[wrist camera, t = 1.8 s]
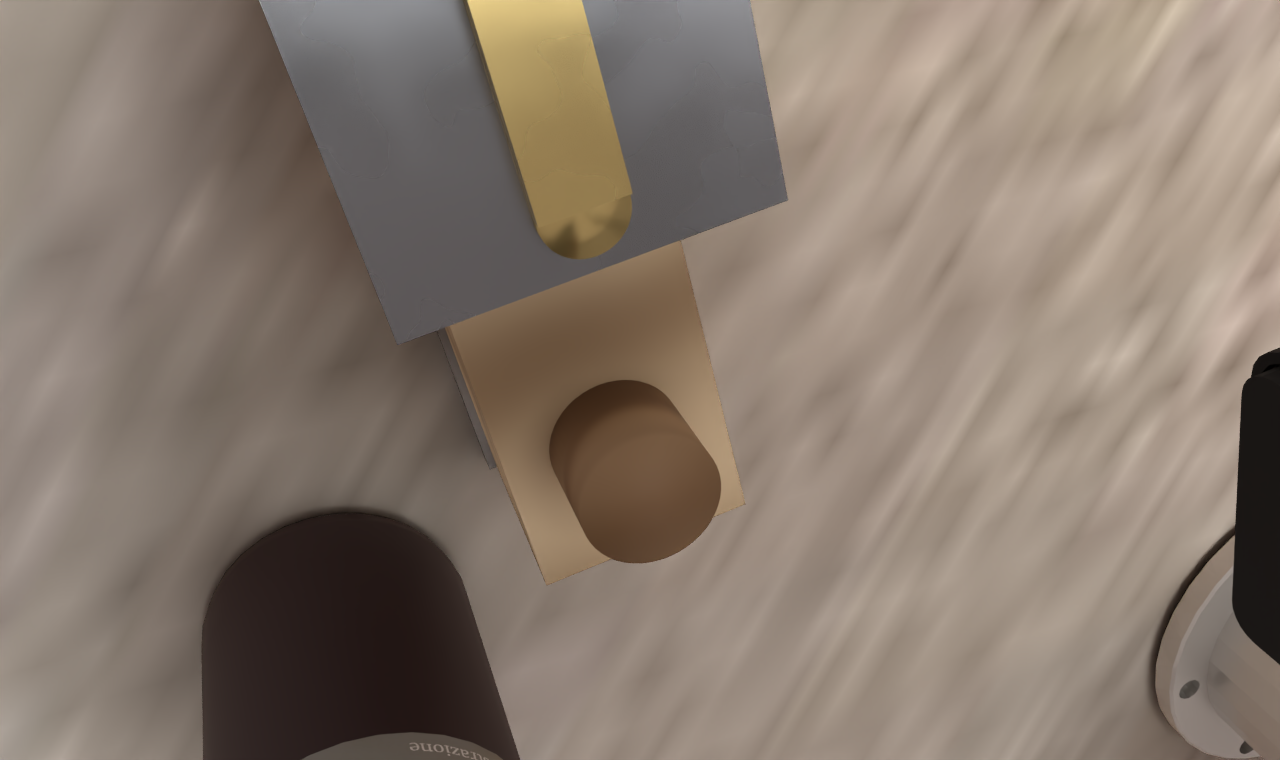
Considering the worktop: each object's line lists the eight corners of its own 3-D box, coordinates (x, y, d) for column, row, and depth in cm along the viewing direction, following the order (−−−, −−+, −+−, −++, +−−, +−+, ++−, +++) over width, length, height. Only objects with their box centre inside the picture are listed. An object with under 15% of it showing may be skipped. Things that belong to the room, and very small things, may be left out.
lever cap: (239, -64, 20) (251, -16, 16) (633, -186, 21) (730, -169, 17) (367, 256, 23) (402, 358, 19) (705, 135, 24) (800, 209, 21)
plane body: (57, -669, 21) (-19, -900, 13) (364, -740, 21) (460, -996, 14) (485, 458, 33) (573, 673, 26) (668, 386, 34) (806, 574, 26)
